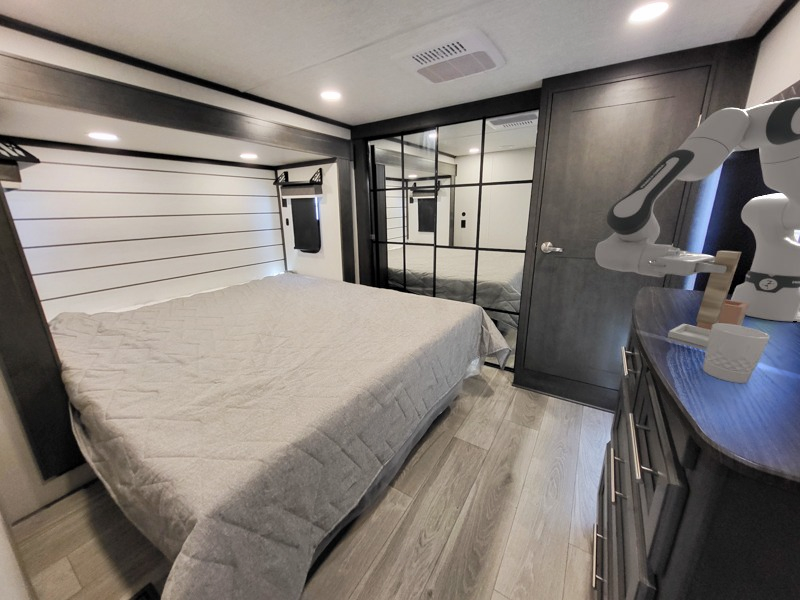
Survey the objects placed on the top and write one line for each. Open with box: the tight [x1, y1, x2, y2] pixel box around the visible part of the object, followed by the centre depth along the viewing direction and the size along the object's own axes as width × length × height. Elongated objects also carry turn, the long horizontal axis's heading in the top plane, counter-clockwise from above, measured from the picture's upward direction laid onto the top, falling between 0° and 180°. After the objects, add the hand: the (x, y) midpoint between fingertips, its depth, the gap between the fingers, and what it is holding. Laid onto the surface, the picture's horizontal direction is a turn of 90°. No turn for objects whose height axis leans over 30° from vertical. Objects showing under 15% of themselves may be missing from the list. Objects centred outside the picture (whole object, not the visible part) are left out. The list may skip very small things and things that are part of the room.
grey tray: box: [666, 323, 711, 352], centre depth 79 cm, size 11×11×2 cm
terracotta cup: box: [696, 298, 749, 330], centre depth 86 cm, size 7×7×9 cm
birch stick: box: [695, 250, 742, 325], centre depth 76 cm, size 3×3×18 cm
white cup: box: [701, 323, 771, 384], centre depth 63 cm, size 8×8×10 cm
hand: (729, 268), depth 74 cm, fingers closed on birch stick, 3 cm apart
